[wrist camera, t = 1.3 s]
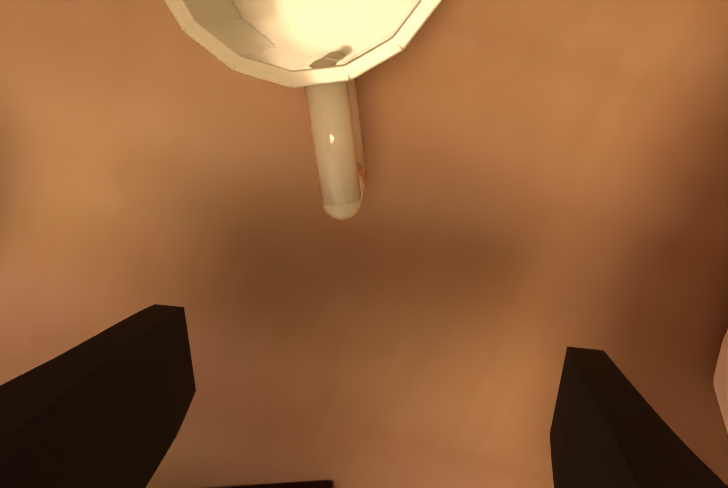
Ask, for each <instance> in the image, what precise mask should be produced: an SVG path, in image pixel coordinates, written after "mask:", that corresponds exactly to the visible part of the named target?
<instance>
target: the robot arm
mask: <svg viewBox="0 0 728 488" xmlns="http://www.w3.org/2000/svg"><path fill="white" fill-rule="evenodd" d="M195 391H196V388H195V381H194V374H193V367H192V360H191V353H190V346H189V339H188V332H187V325H186V318H185V311H184V307H176V306H166V305H157V304H154V305H152V306H150V307H148V308H146V309H143V310H141V311H139V312H138V313H136V314H134V315H132V316H130V317H128V318H126V319H124V320H123V321H121V322H119V323H117V324H115V325H114V326H112V327H110V328H108V329H106V330H105V331H103V332H101V333H99V334H98V335H96V336H94V337H92V338H90V339H88V340H87V341H85V342H83V343H81V344H79V345H78V346H76V347H74V348H72V349H70V350H69V351H67V352H65V353H63V354H61V355H59V356H58V357H56V358H54V359H52V360H50V361H48V362H46V363H44V364H42V365H40V366H38V367H36V368H34V369H32V370H30V371H28V372H26V373H24V374H22V375H20V376H18V377H17V378H15V379H13V380H11V381H9V382H7V383H5V384H3V385H1V386H0V488H145V487H146V486H147V484H148V482H149V481H150V479H151V478H152V476H153V474H154V473H155V471H156V469H157V468H158V466H159V464H160V463H161V461H162V459H163V458H164V456H165V454H166V453H167V451H168V449H169V448H170V446H171V444H172V442H173V441H174V439H175V437H176V435H177V433H178V431H179V429H180V427H181V424H182V422H183V420H184V418H185V416H186V413H187V411H188V408H189V406H190V403H191V401H192V399H193V396H194V394H195ZM550 443H551V457H552V470H553V481H554V488H728V486H727V485H726V484H725V483H724V482H723V481H722V480H721V479H720V478H719V477H718V476H717V475H715V474H714V473H713V472H712V471H711V470H710V469H709V468H708V467H707V466H706V465H705V464H704V463H703V462H702V461H701V460H700V459H699V458H698V457H697V456H696V455H695V454H694V453H693V452H692V451H691V450H690V449H689V448H688V447H687V446H686V444H685V443H684V442H683V441H682V440H681V439H680V438H679V437H678V436H677V435H676V434H675V433H674V432H673V431H672V430H671V429H670V427H669V426H668V425H667V424H666V423H665V422H664V421H663V420H662V419H661V418H660V416H659V415H658V414H657V413H656V412H655V411H654V410H653V409H652V407H651V406H650V405H649V404H648V403H647V402H646V400H645V399H644V398H643V397H642V396H641V395H640V393H639V392H638V391H637V390H636V389H635V388H634V386H633V385H632V384H631V383H630V382H629V380H628V379H627V378H626V377H625V376H624V374H623V373H622V372H621V371H620V370H619V368H618V367H617V366H616V365H615V364H614V363H613V361H612V360H611V359H610V358H609V357H608V355H607V354H606V353H605V352H604V351H603V350H595V349H585V348H575V347H567V351H566V356H565V361H564V366H563V371H562V376H561V381H560V386H559V391H558V396H557V401H556V406H555V411H554V416H553V421H552V426H551V430H550Z"/></svg>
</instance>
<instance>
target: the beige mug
mask: <svg viewBox="0 0 728 488" xmlns="http://www.w3.org/2000/svg"><path fill="white" fill-rule="evenodd" d="M164 2H165V3H166V5H167V6H168V8H169V10H170V11H171V13H172V14H173V16H174V18H175V19H176V21H177V22H178V24H179V26H180V27H181V29H182V30H183V31H184V32H185V34H187V35H188V36H189V37H190V38H192V39H193V40H194V41H196V42H197V43H198V44H199V45H201V46H202V47H203V48H204V49H206V50H207V51H208V52H210V53H211V54H212V55H213V56H215V57H216V58H217V59H219V60H220V61H221V62H222V63H224V64H225V65H226V66H228V67H229V68H230V69H231V70H234V71H235V72H238V73H241V74H244V75H248V76H251V77H255V78H258V79H262V80H265V81H268V82H272V83H275V84H279V85H282V86H286V87H289V88H291V87H292V88H298V87H305V93H306V99H307V106H308V113H309V119H310V126H311V133H312V140H313V146H314V153H315V160H316V167H317V173H318V180H319V187H320V193H321V200H322V205H323V208H324V210H325V212H326V213H327V214H328V215H329V216H330V217H332V218H334V219H337V220H346V219H349V218H351V217H353V216H354V215H355V214H357V212H358V211H359V209H360V207H361V203H362V197H363V191H364V185H365V178H366V168H365V159H364V151H363V143H362V135H361V126H360V118H359V110H358V101H357V93H356V85H355V78H357V77H359V76H361V75H362V74H364V73H366V72H367V71H369V70H371V69H373V68H374V67H376V66H378V65H380V64H381V63H383V62H385V61H386V60H388V59H390V58H392V57H393V56H395V55H397V54H399V53H400V52H402V51H403V50H404V49H405V48H406V47H407V46H408V44H409V43H410V42H411V40H412V39H413V38H414V36H415V35H416V34H417V33H418V31H419V30H420V29H421V27H422V26H423V25H424V24H425V22H426V21H427V20H428V18H429V17H430V16H431V15H432V13H433V12H434V11H435V9H436V8H437V7H438V6H439V4H440V3H441V2H442V0H164Z"/></svg>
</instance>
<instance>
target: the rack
mask: <svg viewBox="0 0 728 488" xmlns="http://www.w3.org/2000/svg"><path fill="white" fill-rule="evenodd" d="M233 488H333V483H332V481H325V482H310V483H295V484H279V485H264V486H248V487H233Z"/></svg>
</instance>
